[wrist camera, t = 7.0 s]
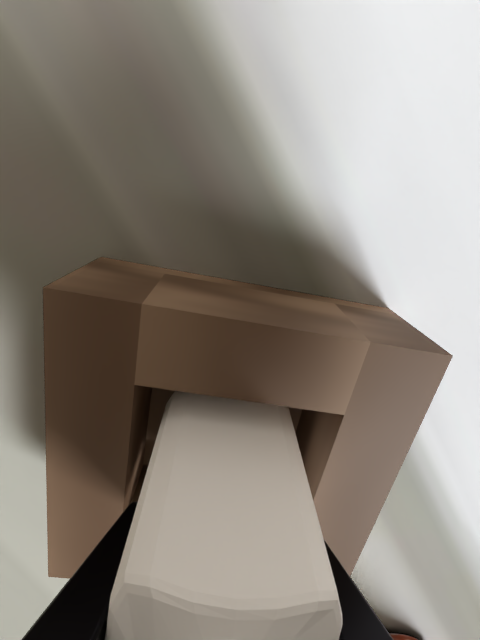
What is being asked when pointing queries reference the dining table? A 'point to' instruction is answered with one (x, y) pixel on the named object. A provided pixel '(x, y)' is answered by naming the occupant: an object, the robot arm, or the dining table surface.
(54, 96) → the dining table surface
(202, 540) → the salt shaker
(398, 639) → the supplement bottle
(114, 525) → the robot arm
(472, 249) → the dining table surface
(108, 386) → the socket block
